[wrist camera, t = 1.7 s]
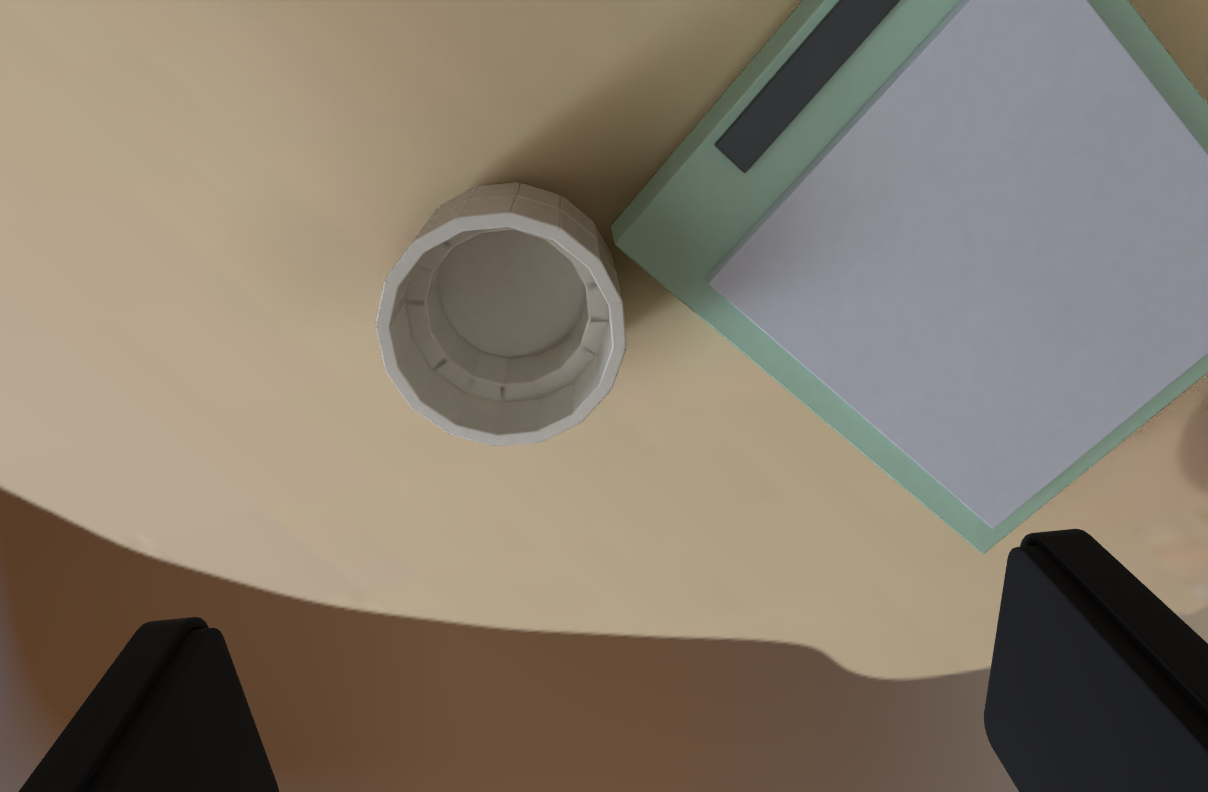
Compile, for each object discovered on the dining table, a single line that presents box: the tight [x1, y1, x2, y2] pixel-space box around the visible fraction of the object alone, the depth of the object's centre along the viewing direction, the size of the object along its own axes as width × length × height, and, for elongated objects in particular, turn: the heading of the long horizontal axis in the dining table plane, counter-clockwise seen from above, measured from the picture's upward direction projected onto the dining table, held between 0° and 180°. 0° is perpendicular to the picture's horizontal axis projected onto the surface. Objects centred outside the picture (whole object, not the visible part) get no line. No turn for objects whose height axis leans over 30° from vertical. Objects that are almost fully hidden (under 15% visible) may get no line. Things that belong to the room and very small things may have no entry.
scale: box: [611, 0, 1208, 554], centre depth 25 cm, size 18×14×3 cm
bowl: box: [375, 182, 626, 446], centre depth 24 cm, size 7×7×5 cm
